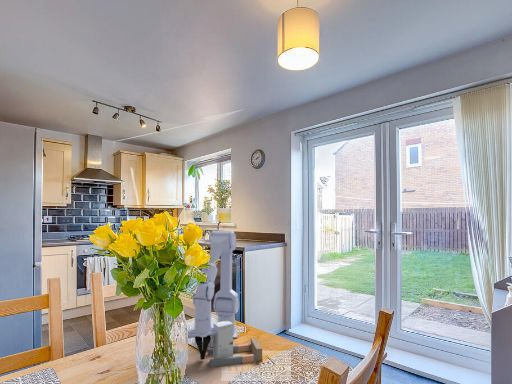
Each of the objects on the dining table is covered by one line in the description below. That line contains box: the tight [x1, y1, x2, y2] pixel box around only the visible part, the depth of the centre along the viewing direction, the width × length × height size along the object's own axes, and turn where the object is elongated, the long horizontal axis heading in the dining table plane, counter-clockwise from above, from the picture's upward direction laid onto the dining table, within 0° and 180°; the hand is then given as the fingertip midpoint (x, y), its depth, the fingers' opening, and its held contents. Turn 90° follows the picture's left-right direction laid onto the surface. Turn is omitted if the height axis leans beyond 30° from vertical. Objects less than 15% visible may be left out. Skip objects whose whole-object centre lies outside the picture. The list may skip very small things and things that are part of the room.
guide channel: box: [207, 337, 263, 368], centre depth 107 cm, size 9×18×4 cm, turn 104°
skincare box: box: [212, 321, 234, 359], centre depth 106 cm, size 6×4×12 cm
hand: (202, 358), depth 104 cm, fingers closed
